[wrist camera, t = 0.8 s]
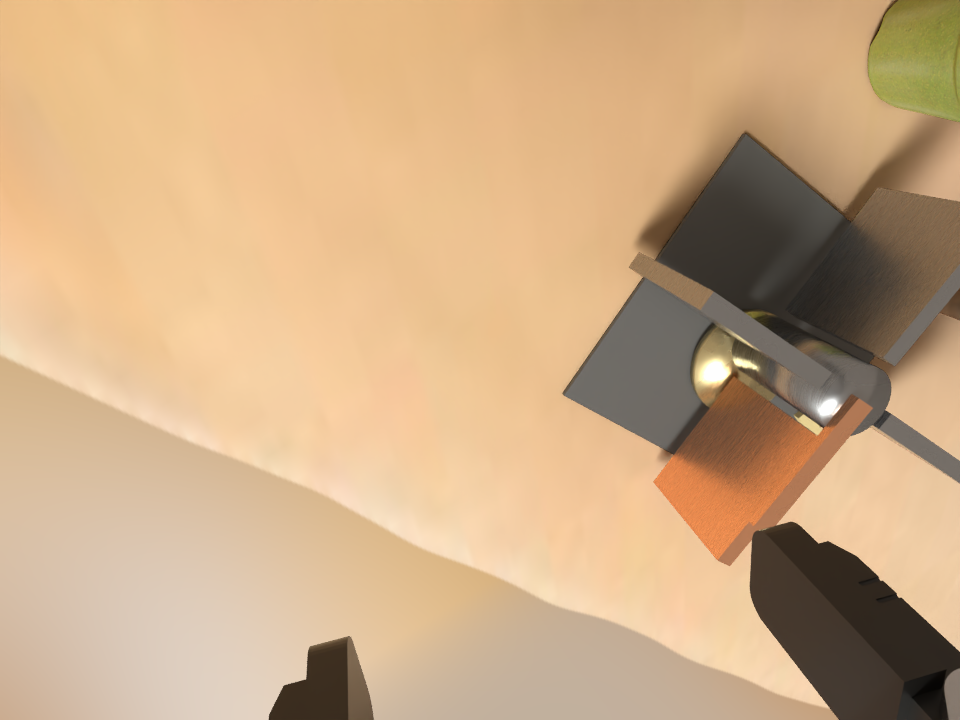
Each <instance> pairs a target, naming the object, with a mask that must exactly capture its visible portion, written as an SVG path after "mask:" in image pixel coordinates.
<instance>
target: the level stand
mask: <svg viewBox="0 0 960 720" xmlns="http://www.w3.org/2000/svg"><path fill="white" fill-rule="evenodd" d="M939 313H942V314H944V315H947V316H950V317H953V318H955V319H958V320H960V288H959V289H958V291H957V292H956V293H955V294H954V295H953V297H952V298H951V299H950V300H949V302H948V303H947V304H946V305H945V306H944V308H943V309H942V310H941V311H940V312H939Z"/></svg>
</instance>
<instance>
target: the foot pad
mask: <svg viewBox="0 0 960 720" xmlns="http://www.w3.org/2000/svg"><path fill="white" fill-rule="evenodd" d="M850 223H851V222H850V221H849V220H847V219H846V218H845V217H844V216H843V215H841V214H840V213H839V212H838V211H837V210H836V209H834V208H833V207H832V206H831V205H830V204H828V203H827V202H826V201H825V200H824V199H823V198H821V197H820V196H819V195H818V194H817V193H815V192H814V191H813V190H812V189H811V188H809V187H808V186H807V185H806V184H805V183H804V182H802V181H801V180H800V179H799V178H798V177H796V176H795V175H794V174H793V173H792V172H790V171H789V170H788V169H787V168H786V167H785V166H783V165H782V164H781V163H780V162H779V161H777V160H776V159H775V158H774V157H773V156H771V155H770V154H769V153H768V152H767V151H766V150H764V149H763V148H762V147H761V146H760V145H758V144H757V143H756V142H755V141H754V140H752V139H751V138H750V137H749V136H748V135H747V134H743V135H742V136H741V137H740V139H739V140H738V142H737V143H736V145H735V146H734V148H733V149H732V150H731V152H730V153H729V155H728V156H727V158H726V159H725V161H724V162H723V163H722V165H721V166H720V168H719V169H718V171H717V172H716V173H715V175H714V176H713V178H712V179H711V181H710V182H709V184H708V185H707V186H706V188H705V189H704V191H703V192H702V194H701V195H700V196H699V198H698V199H697V201H696V202H695V204H694V205H693V207H692V208H691V209H690V211H689V212H688V214H687V215H686V217H685V218H684V220H683V221H682V222H681V224H680V225H679V227H678V228H677V230H676V231H675V232H674V234H673V235H672V237H671V238H670V240H669V241H668V243H667V244H666V245H665V247H664V248H663V250H662V251H661V253H660V254H659V255H658V257H657V258H656V260H655V261H657V262H659V263H661V264H663V265H665V266H666V267H668V268H670V269H672V270H674V271H676V272H678V273H680V274H682V275H684V276H685V277H687V278H689V279H691V280H693V281H695V282H697V283H699V284H701V285H702V286H704V287H706V288H708V289H710V290H712V291H714V292H715V293H717V294H718V295H720V296H721V297H723V298H724V299H725V300H727V301H728V302H730V303H731V304H733V305H734V306H736V307H737V308H739V309H740V310H741V311H742V310H747V309H759V310H764V311H767V312H770V313H772V314H774V315H776V316H778V317H779V318H781V319H783V320H785V321H787V322H789V323H791V324H793V325H795V326H797V327H799V328H801V329H803V330H805V331H807V332H809V333H811V334H813V335H815V336H817V337H819V338H821V339H823V340H825V341H827V342H829V343H831V344H833V345H835V346H836V347H838V348H840V349H842V350H844V351H846V352H848V353H850V354H852V355H854V356H856V357H858V358H860V359H862V360H864V361H866V362H868V363H870V361H871V360H872V359H873V358H874V356H873V355H871V354H869V353H867V352H865V351H863V350H861V349H859V348H857V347H855V346H852V345H850V344H848V343H846V342H844V341H842V340H840V339H838V338H836V337H834V336H832V335H830V334H828V333H826V332H824V331H822V330H820V329H818V328H816V327H814V326H812V325H810V324H808V323H806V322H804V321H802V320H799V319H797V318H795V317H794V316H793V315H791V314H790V313H788V312H787V311H786V310H785V309H786V307H787V306H788V305H789V303H790V302H791V301H792V299H793V298H794V297H795V295H796V294H797V293H798V292H799V290H800V289H801V288H802V286H803V285H804V284H805V282H806V281H807V280H808V278H809V277H810V276H811V274H812V273H813V272H814V271H815V269H816V268H817V267H818V265H819V264H820V263H821V261H822V260H823V259H824V257H825V256H826V255H827V253H828V252H829V251H830V250H831V248H832V247H833V246H834V244H835V243H836V242H837V240H838V239H839V238H840V236H841V235H842V234H843V232H844V231H845V230H846V229H847V227H848V226H849V225H850ZM713 325H714V324H713V323H712V322H710V321H709V320H707V319H706V318H704V317H703V316H701V315H700V314H698V313H697V312H695V311H694V310H692V309H691V308H689V307H688V306H686V305H685V304H683V303H682V302H680V301H679V300H677V299H676V298H674V297H673V296H671V295H670V294H668V293H667V292H665V291H664V290H662V289H660V288H659V287H657V286H656V285H654V284H653V283H651V282H650V281H648V280H647V279H645V278H644V277H643V279H642V280H641V281H640V283H639V284H638V286H637V287H636V289H635V290H634V291H633V293H632V294H631V296H630V297H629V299H628V300H627V302H626V303H625V304H624V306H623V307H622V309H621V310H620V312H619V313H618V314H617V316H616V317H615V319H614V320H613V322H612V323H611V325H610V326H609V327H608V329H607V330H606V332H605V333H604V335H603V336H602V338H601V339H600V340H599V342H598V343H597V345H596V346H595V348H594V349H593V350H592V352H591V353H590V355H589V356H588V358H587V359H586V361H585V362H584V363H583V365H582V366H581V368H580V369H579V371H578V372H577V373H576V375H575V376H574V378H573V379H572V381H571V382H570V384H569V385H568V386H567V388H566V389H565V391H564V392H563V395H564V396H566V397H568V398H570V399H571V400H573V401H575V402H577V403H579V404H581V405H583V406H584V407H586V408H588V409H590V410H592V411H594V412H596V413H597V414H599V415H601V416H603V417H605V418H607V419H609V420H611V421H612V422H614V423H616V424H618V425H620V426H622V427H624V428H625V429H627V430H629V431H631V432H633V433H635V434H637V435H638V436H640V437H642V438H644V439H646V440H648V441H650V442H652V443H653V444H655V445H657V446H659V447H661V448H663V449H665V450H666V451H668V452H670V453H672V454H675V453H676V452H677V450H678V449H679V448H680V446H681V445H682V444H683V442H684V441H685V440H686V438H687V437H688V436H689V435H690V433H691V432H692V431H693V429H694V428H695V427H696V425H697V424H698V423H699V421H700V420H701V419H702V417H703V416H704V415H705V414H706V412H707V411H708V410H709V407H708V406H707V405H705V404H704V403H703V402H702V401H701V400H700V399H699V398H698V397H697V395H696V394H695V392H694V390H693V387H692V384H691V379H690V366H691V361H692V357H693V354H694V351H695V349H696V347H697V345H698V343H699V342H700V340H701V339H702V337H703V336H704V335H705V333H706V332H707V331H708V330H709V329H710V328H711V327H712V326H713ZM770 402H771V403H773V404H774V405H776V406H777V407H778V408H780V409H781V410H783V411H784V412H786V413H787V414H788V415H790V416H791V417H793V418H794V419H795V420H797V421H798V422H800V423H801V424H802V425H804V426H805V427H807V428H808V429H809V430H811V431H812V432H814V433H815V434H816V435H818V434H819V433H820V432H821V431H822V429H821V428H820V426H819V425H818V424H817V423H815V422H814V421H812V420H811V419H810V418H808V417H807V416H805V415H804V414H802V413H801V412H799V411H798V410H796V409H795V408H794V407H792V406H791V405H789V404H788V403H786V402H785V401H783V400H782V399H780V398H779V397H778V396H775V397H774V398H773V399H772V400H770Z"/></svg>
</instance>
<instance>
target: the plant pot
mask: <svg viewBox="0 0 960 720" xmlns="http://www.w3.org/2000/svg"><path fill="white" fill-rule="evenodd" d="M868 74H869V78H870V82H871V85H872V87H873V90H874V91H875V93H876V94H877V96H878V97H879V98H880V99H881V100H883V101H885V102H886V103H888V104H890V105H892V106H894V107H897V108H901V109H905V110H909V111H914V112H919V113H923V114H927V115H932V116H936V117H940V118H944V119H948V120H952V121H956V122H960V0H898V1H897V2H896V3H895V4H894V5H893V6H892V7H891V8H890V9H889V10H888V11H887V13H886V14H885V15H884V17H883V22H882V25H881V27H880V29H879V32H878V34H877V35H876V37H875V39H874V40H873V42H872V44H871V46H870V50H869V56H868Z"/></svg>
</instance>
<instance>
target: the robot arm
mask: <svg viewBox="0 0 960 720" xmlns="http://www.w3.org/2000/svg"><path fill="white" fill-rule="evenodd" d="M750 593H751V598H752V601H753V604H754V607H755V609H756V611H757V613H758V615H759V617H760V618H761V620H762V621H763V622H764V624H765V625H766V626H767V628H768V629H769V630H770V631H771V633H772V634H773V635H774V637H775V638H776V639H777V640H778V642H779V643H780V644H781V646H782V647H783V648H784V649H785V651H786V652H787V653H788V655H789V656H790V657H791V659H792V660H793V661H794V662H795V664H796V665H797V666H798V668H799V669H800V670H801V671H802V673H803V674H804V675H805V677H806V678H807V679H808V680H809V682H810V683H811V684H812V686H813V687H814V688H815V689H816V691H817V692H818V693H819V695H820V696H821V697H822V698H823V700H824V701H825V702H826V704H827V705H828V706H829V707H830V709H831V710H832V711H833V713H834V714H835V715H836V716H837V718H838V719H839V720H960V652H959V651H958V650H957V649H956V648H955V647H954V646H953V645H952V644H951V643H950V642H948V641H947V640H946V639H945V638H944V637H943V636H942V635H941V634H940V633H939V632H938V631H937V630H936V629H934V628H933V627H932V626H931V625H930V624H929V623H928V622H927V621H926V620H925V619H924V618H923V617H922V616H920V615H919V614H918V613H917V612H916V611H915V610H914V609H913V608H912V607H911V606H910V605H909V604H908V603H906V602H905V601H904V600H903V599H902V598H898V596H897V593H896V592H895V591H894V590H892V589H891V588H890V587H889V586H888V585H887V584H886V583H885V582H884V581H880V580H879V577H878V576H877V575H876V574H875V573H874V572H873V571H872V570H871V569H870V568H869V567H868V566H867V565H865V564H864V563H863V562H862V561H861V560H860V559H859V558H858V557H857V556H855V555H853V554H851V553H849V552H848V551H846V550H844V549H842V548H840V547H838V546H836V545H834V544H832V543H831V542H829V541H827V542H823V543H819V544H818V543H817V542H816V541H815V540H814V539H813V538H812V537H811V536H810V535H809V534H808V533H807V532H806V531H805V530H804V529H803V528H802V527H801V526H799V525H798V524H797V523H794V522H788V523H784V524H781V525H777V526H773V527H769V528H765V529H762V530H758V531H755V532H754V534H753V537H752V552H751V573H750ZM269 720H374V718H373V711H372V705H371V700H370V695H369V692H368V688H367V685H366V682H365V679H364V675H363V672H362V669H361V666H360V664H359V660H358V657H357V653H356V650H355V647H354V644H353V641H352V639H351V637H350V636H348V637H344V638H341V639H337V640H333V641H329V642H325V643H321V644H318V645H314V646H310V648H309V650H308V661H307V677H306V680H302V681H299V682H295V683H291V684H288V685H284V686H283V688H282V690H281V692H280V694H279V696H278V698H277V700H276V702H275V704H274V706H273V708H272V710H271V712H270V714H269Z"/></svg>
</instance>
